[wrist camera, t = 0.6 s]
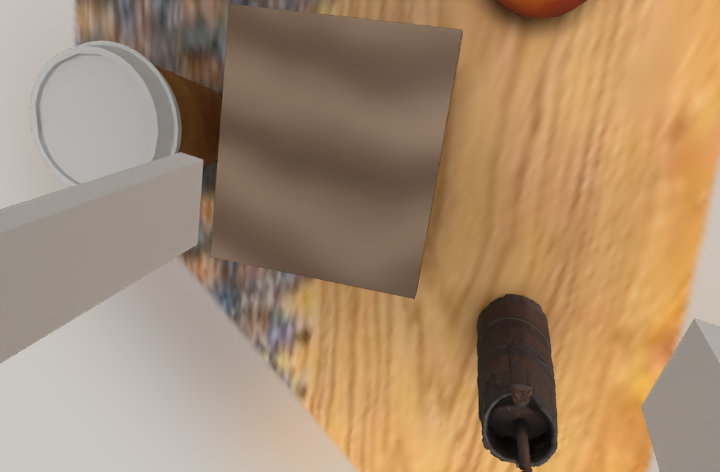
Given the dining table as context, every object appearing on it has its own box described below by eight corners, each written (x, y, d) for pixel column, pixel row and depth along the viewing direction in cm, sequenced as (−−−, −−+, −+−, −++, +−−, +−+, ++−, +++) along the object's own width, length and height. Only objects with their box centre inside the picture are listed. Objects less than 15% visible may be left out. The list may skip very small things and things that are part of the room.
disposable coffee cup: (269, 163, 40) (189, 176, 28) (171, 198, 42) (60, 222, 31) (228, 46, 38) (127, 9, 27) (129, 88, 41) (-2, 71, 29)
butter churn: (467, 238, 38) (470, 499, 11) (593, 276, 36) (952, 682, 10) (431, 344, 40) (363, 775, 13) (549, 384, 39) (739, 954, 12)
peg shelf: (277, 30, 37) (229, 3, 30) (462, 52, 35) (462, 29, 27) (258, 233, 41) (210, 256, 33) (424, 265, 39) (414, 298, 31)
